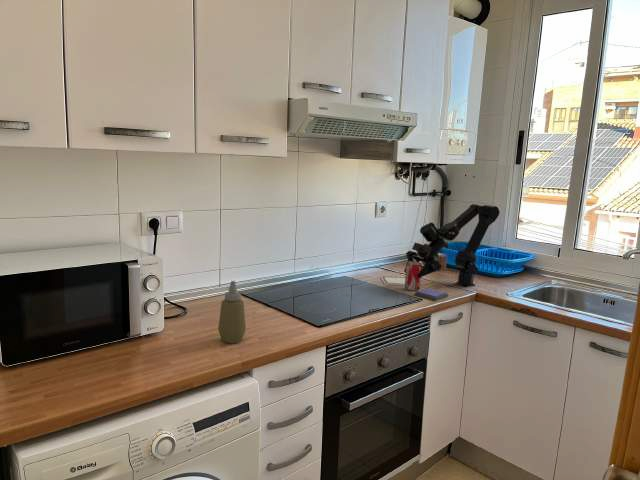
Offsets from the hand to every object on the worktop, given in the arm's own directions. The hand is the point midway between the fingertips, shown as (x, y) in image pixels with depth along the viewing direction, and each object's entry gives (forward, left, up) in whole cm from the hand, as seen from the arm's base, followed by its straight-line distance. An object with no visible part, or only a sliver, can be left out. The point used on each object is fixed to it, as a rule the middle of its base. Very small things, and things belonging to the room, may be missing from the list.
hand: (411, 274), depth 204 cm
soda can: (-1, 0, -7) cm, 7 cm away
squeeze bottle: (+90, +27, -7) cm, 94 cm away
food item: (-41, -31, -7) cm, 52 cm away
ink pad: (-2, +11, -7) cm, 13 cm away
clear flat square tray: (-3, -13, -7) cm, 15 cm away
